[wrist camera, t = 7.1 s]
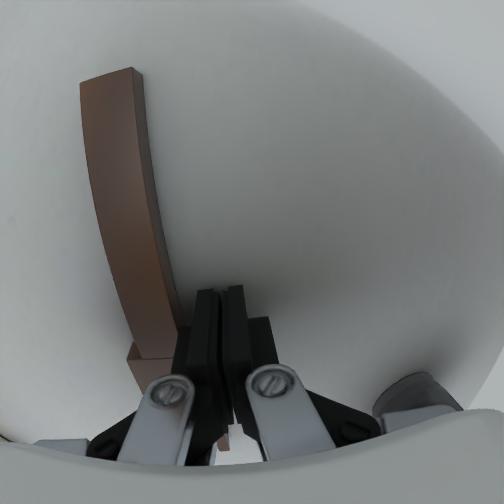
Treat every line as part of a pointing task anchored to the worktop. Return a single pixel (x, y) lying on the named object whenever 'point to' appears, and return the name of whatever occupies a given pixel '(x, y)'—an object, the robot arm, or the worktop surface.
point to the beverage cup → (413, 395)
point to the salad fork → (132, 220)
